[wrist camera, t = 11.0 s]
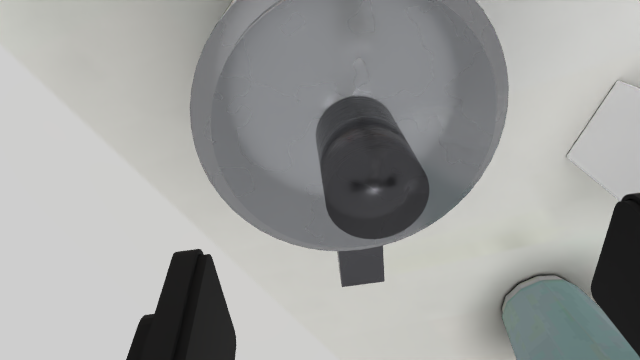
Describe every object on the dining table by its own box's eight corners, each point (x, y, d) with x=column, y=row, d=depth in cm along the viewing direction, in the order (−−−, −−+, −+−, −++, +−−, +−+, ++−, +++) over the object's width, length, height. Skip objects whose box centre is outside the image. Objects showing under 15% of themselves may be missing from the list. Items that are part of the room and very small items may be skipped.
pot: (177, -104, 23) (121, -119, 15) (450, -137, 23) (539, -170, 15) (249, 214, 32) (238, 307, 24) (439, 189, 33) (490, 273, 25)
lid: (180, -2, 17) (134, 31, 11) (498, -44, 17) (596, -30, 11) (244, 249, 23) (232, 346, 17) (478, 218, 23) (536, 305, 17)
